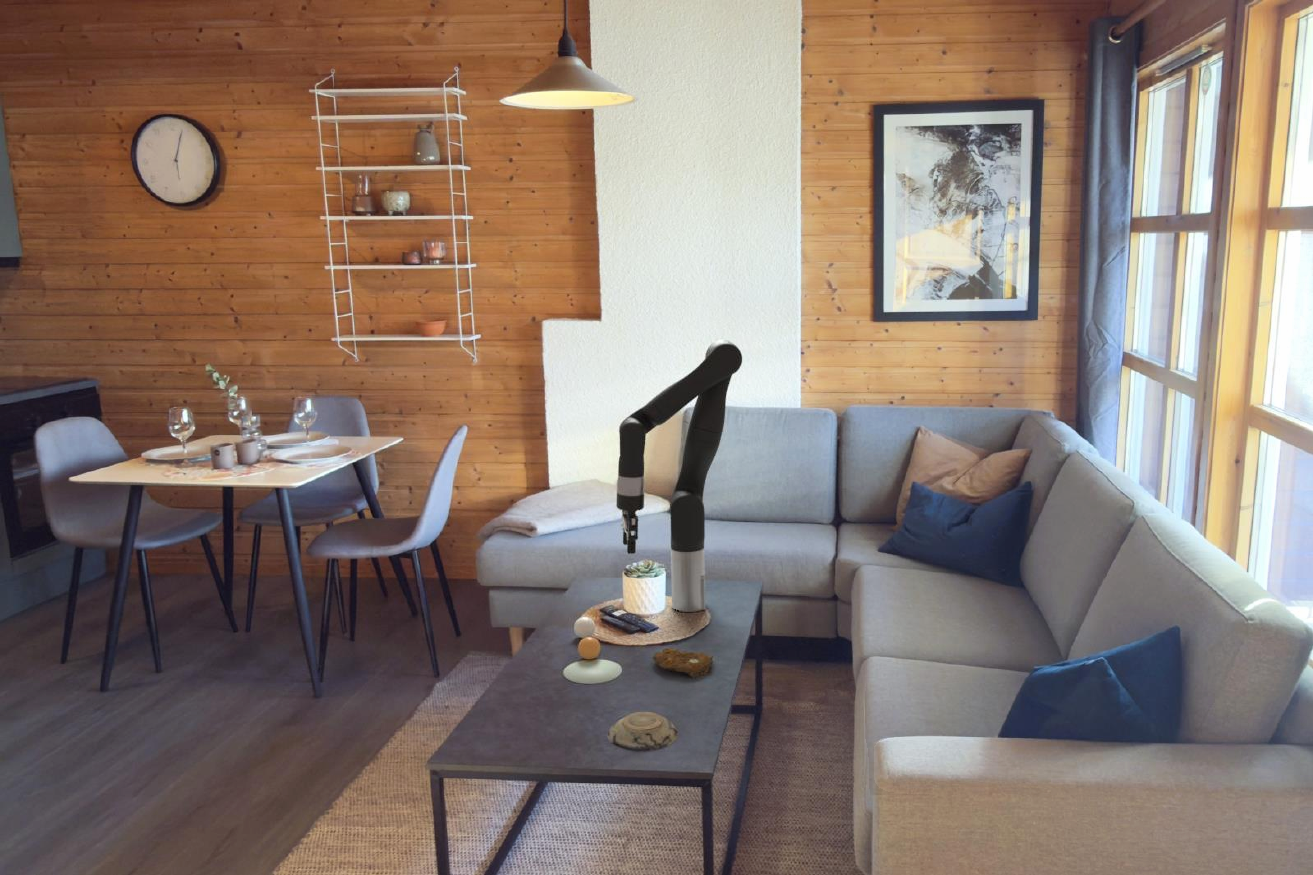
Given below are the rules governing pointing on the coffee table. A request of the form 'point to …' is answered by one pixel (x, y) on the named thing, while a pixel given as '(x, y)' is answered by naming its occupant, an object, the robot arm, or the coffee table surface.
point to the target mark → (592, 671)
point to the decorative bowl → (643, 732)
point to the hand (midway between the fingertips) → (628, 548)
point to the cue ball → (584, 627)
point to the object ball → (589, 648)
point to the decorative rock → (684, 661)
